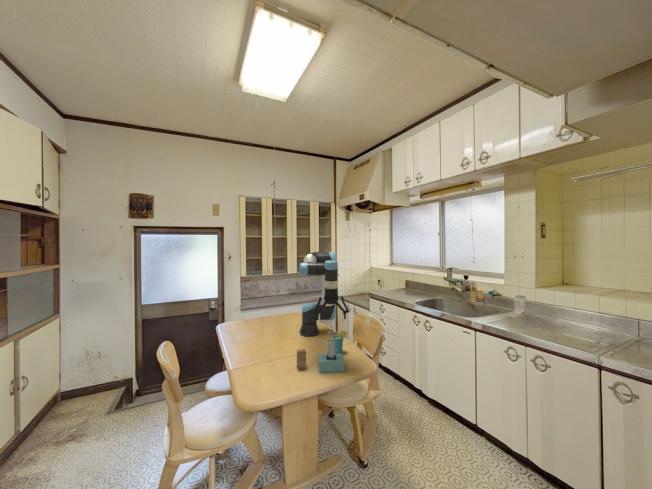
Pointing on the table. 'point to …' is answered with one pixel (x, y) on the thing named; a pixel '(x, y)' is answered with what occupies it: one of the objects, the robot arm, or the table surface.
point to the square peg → (301, 359)
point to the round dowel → (331, 350)
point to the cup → (338, 340)
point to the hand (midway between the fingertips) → (331, 325)
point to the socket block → (331, 363)
